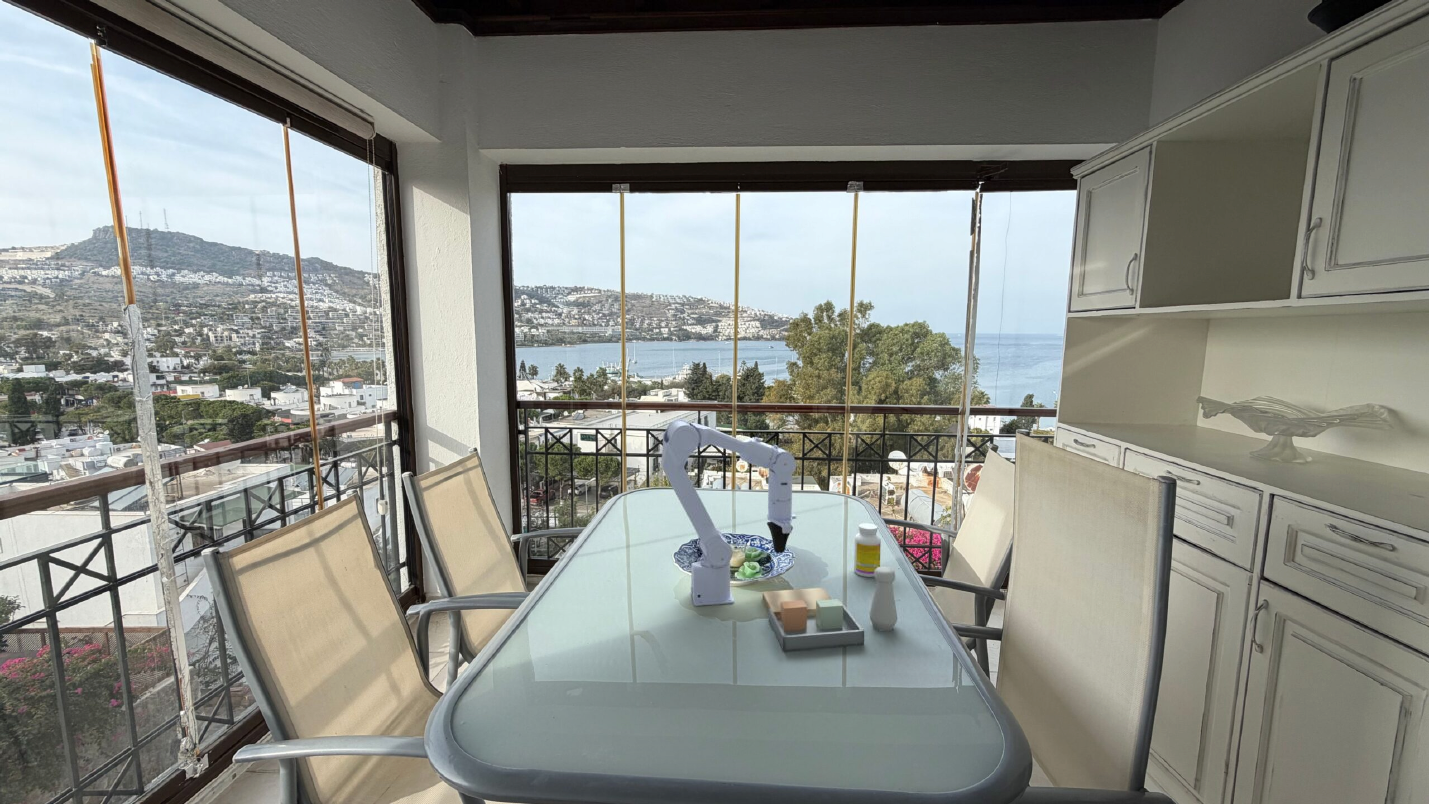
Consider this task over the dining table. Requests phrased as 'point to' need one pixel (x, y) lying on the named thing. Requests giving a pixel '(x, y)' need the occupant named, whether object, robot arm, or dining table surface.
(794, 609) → the tile terracotta
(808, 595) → the board
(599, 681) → the dining table surface
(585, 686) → the dining table surface
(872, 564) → the supplement bottle
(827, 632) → the tray
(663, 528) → the dining table surface
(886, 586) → the salt shaker
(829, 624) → the tile sage
